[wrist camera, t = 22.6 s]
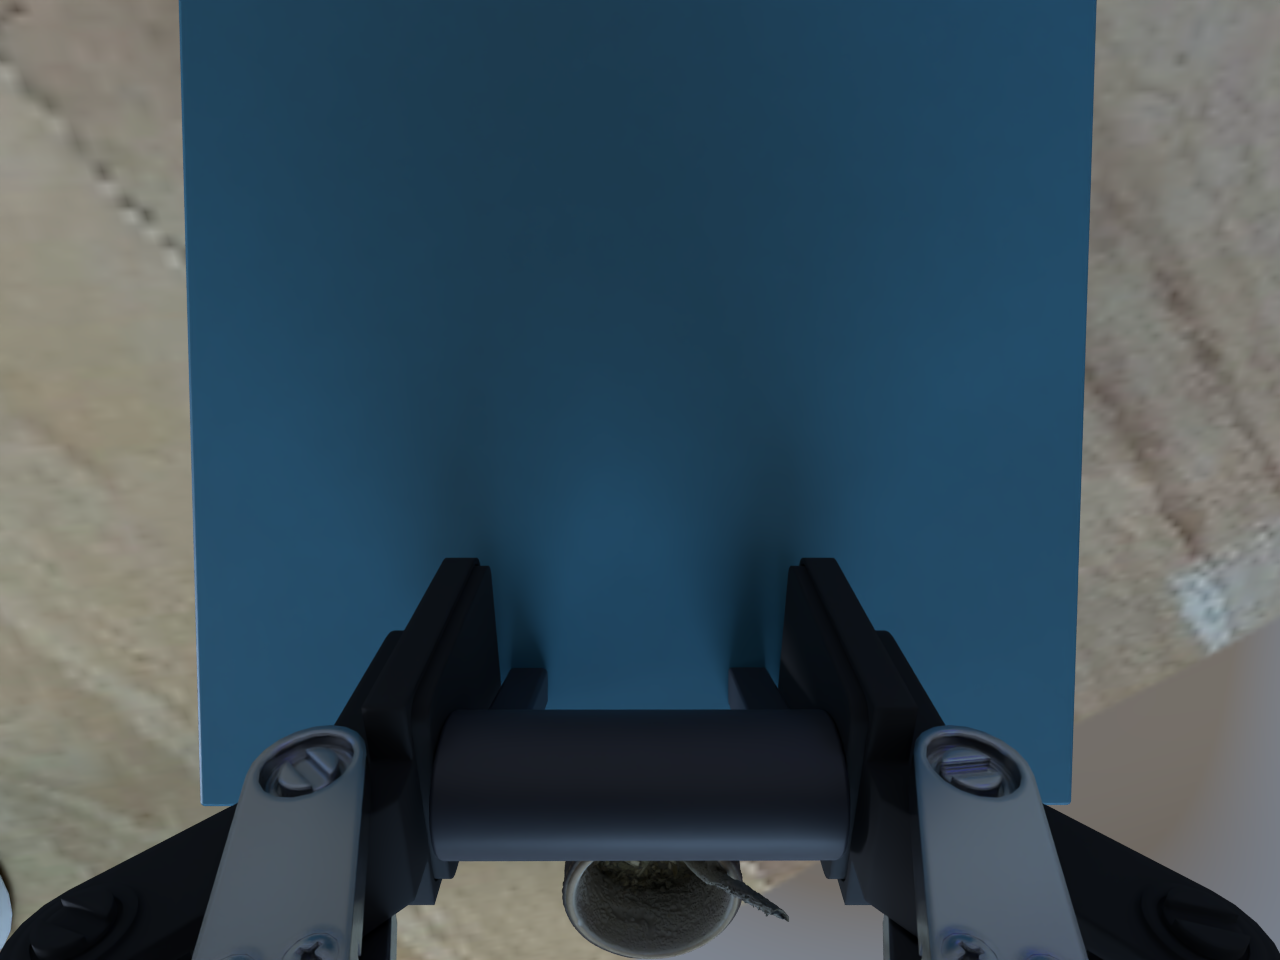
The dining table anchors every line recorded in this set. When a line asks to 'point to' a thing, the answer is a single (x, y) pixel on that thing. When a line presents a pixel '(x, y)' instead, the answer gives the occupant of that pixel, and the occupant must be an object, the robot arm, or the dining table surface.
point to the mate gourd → (656, 904)
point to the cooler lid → (636, 385)
